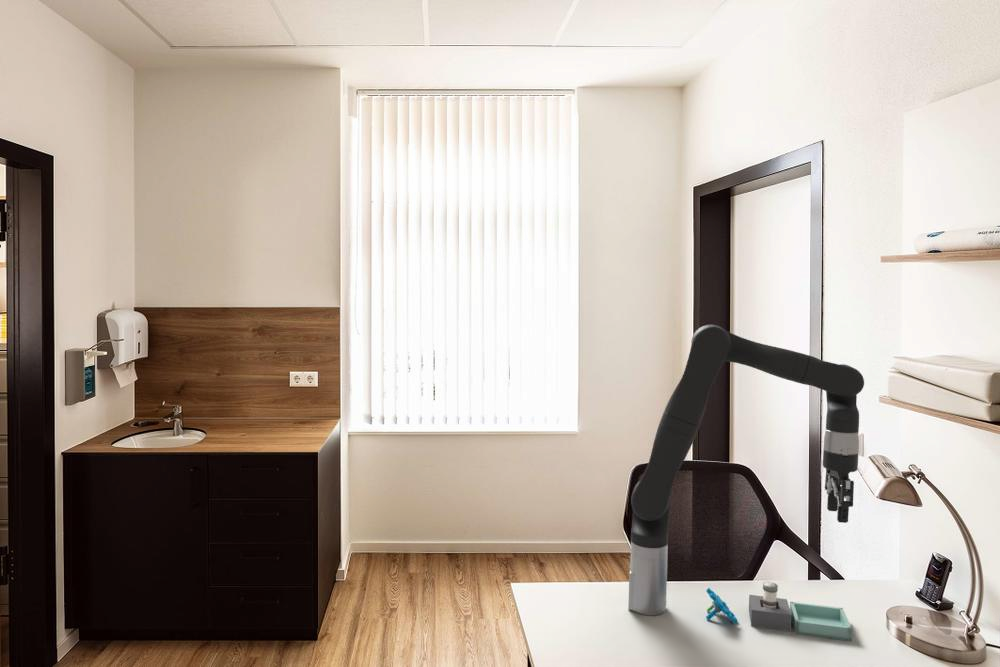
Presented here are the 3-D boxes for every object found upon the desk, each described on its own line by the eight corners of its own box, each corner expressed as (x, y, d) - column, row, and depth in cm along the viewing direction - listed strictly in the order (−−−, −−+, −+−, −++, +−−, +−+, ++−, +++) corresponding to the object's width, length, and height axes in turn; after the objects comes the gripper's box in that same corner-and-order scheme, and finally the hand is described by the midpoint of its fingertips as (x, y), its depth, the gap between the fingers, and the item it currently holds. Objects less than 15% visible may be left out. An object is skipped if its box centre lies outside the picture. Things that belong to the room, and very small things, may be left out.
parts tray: (795, 633, 170) (795, 621, 170) (789, 613, 181) (790, 601, 180) (851, 641, 167) (851, 628, 166) (842, 619, 177) (842, 608, 177)
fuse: (762, 622, 176) (763, 586, 175) (761, 616, 179) (762, 581, 178) (777, 624, 175) (778, 588, 174) (775, 618, 178) (776, 582, 177)
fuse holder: (751, 625, 174) (751, 609, 173) (748, 609, 182) (749, 594, 182) (790, 630, 171) (791, 614, 171) (786, 614, 180) (786, 599, 180)
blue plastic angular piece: (742, 625, 170) (712, 592, 172) (724, 641, 171) (694, 608, 172) (735, 611, 181) (707, 580, 183) (718, 626, 182) (690, 595, 183)
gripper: (816, 441, 176) (812, 506, 177) (832, 455, 162) (828, 524, 163) (848, 443, 175) (845, 508, 176) (867, 457, 161) (863, 527, 162)
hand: (837, 516), depth 170 cm, fingers open, 8 cm apart
